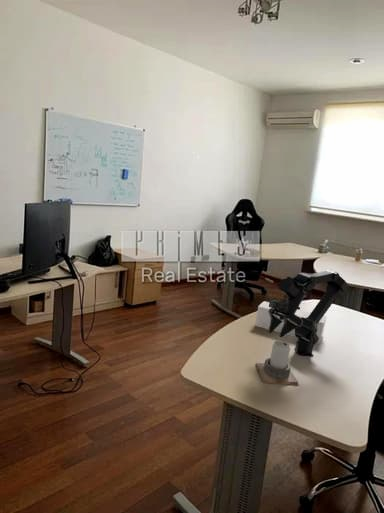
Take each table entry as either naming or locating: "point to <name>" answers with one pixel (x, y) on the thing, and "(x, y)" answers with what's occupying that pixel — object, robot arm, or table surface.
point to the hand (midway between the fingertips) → (274, 334)
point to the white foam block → (265, 319)
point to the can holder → (276, 373)
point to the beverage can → (280, 355)
